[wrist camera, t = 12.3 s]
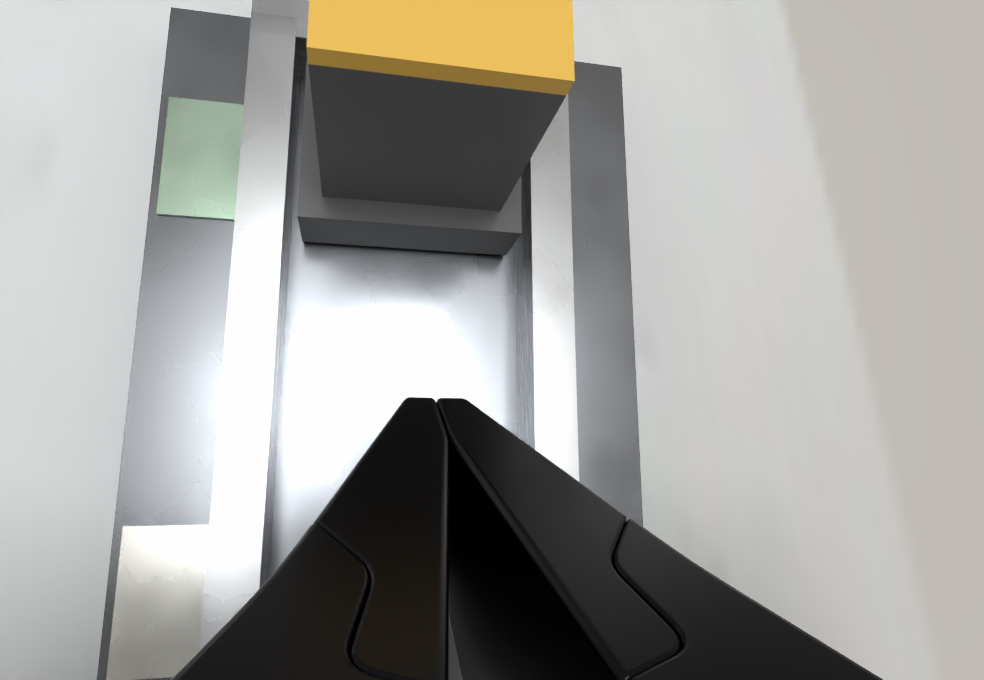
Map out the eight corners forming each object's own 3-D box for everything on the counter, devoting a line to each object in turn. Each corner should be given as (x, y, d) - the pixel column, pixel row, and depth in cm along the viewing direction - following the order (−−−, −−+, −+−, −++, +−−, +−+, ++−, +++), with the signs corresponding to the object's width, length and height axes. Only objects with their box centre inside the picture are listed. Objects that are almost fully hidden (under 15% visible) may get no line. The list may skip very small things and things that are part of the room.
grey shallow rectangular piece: (632, 741, 16) (688, 794, 14) (104, 791, 14) (44, 868, 11) (605, 91, 20) (645, 31, 17) (183, 38, 17) (152, -42, 15)
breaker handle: (506, 255, 17) (606, 114, 10) (302, 241, 16) (267, 74, 9) (504, 112, 17) (597, -104, 11) (311, 91, 16) (285, -164, 10)
